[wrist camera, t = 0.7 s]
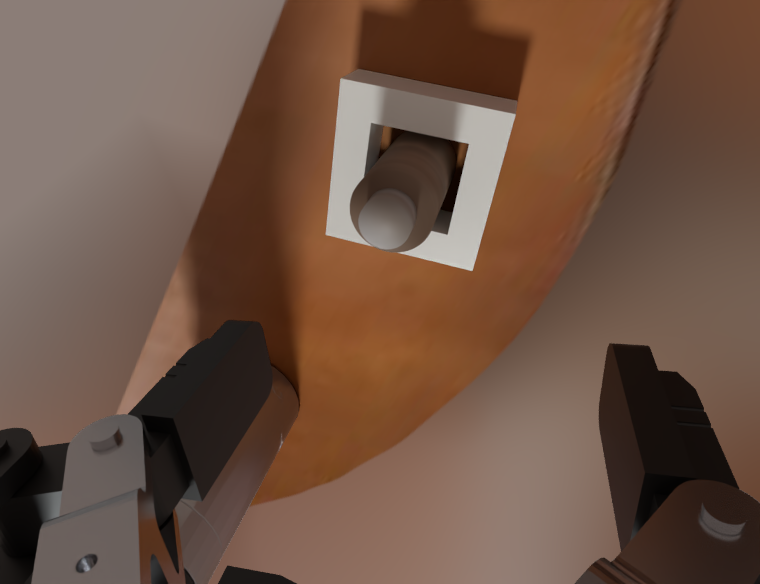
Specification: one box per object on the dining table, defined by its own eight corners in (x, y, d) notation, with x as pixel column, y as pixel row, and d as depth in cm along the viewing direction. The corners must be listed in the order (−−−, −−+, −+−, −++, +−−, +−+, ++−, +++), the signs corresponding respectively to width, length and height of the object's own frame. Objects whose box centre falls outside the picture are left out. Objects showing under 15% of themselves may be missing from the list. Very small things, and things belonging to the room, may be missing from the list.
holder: (477, 246, 36) (472, 271, 33) (342, 214, 37) (325, 234, 34) (517, 100, 30) (515, 114, 27) (358, 68, 32) (340, 78, 29)
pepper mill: (425, 208, 35) (392, 281, 27) (374, 165, 34) (323, 226, 26) (470, 159, 33) (448, 223, 24) (416, 112, 32) (375, 161, 24)
